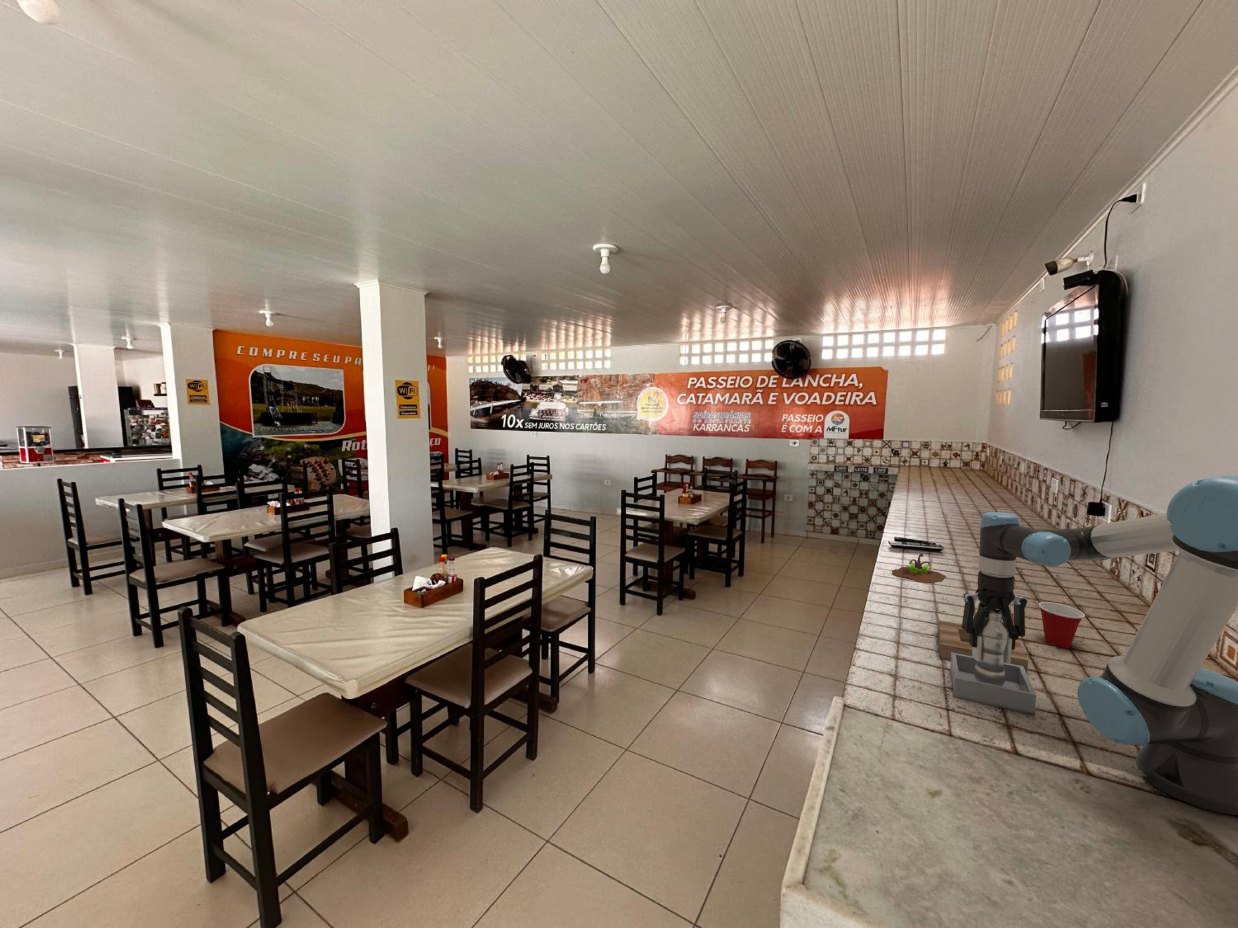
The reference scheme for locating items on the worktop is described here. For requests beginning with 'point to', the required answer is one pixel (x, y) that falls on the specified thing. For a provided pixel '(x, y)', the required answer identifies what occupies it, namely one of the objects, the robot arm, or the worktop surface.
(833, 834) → the worktop surface
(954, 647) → the walnut frame
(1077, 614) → the plastic cup
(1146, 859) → the worktop surface
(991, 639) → the plastic bottle
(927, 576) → the plant
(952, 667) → the slate tray
